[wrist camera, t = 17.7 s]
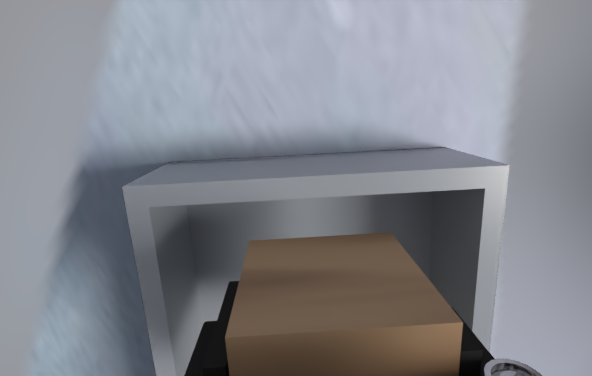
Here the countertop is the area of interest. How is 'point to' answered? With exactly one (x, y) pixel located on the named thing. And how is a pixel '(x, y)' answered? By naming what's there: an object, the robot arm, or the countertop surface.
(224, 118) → the countertop surface
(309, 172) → the tote
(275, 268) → the walnut cube
